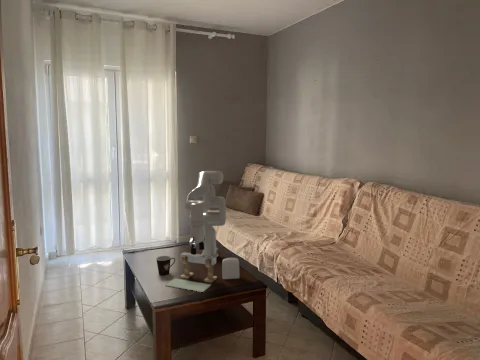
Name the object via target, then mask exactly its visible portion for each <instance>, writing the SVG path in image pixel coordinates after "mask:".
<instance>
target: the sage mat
mask: <svg viewBox="0 0 480 360" xmlns="http://www.w3.org/2000/svg"><path fill="white" fill-rule="evenodd" d="M164 286H165V287H168V286H170V287H169V288H174V287H175V289H179V288H181V289H180V290H185V289H187V290H186V291H190V290H193V291H192V292H196V291H197V293H201V292H203V293H205V292H206V291H207V290H208V289H209V288H211V286H212V283H206V282H204V283H203V282H198V281H192V280H188V279H182V278H173V279H172V280H171V281H169V282H167V283H166V284H165V285H164Z"/></svg>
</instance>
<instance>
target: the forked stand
mask: <svg viewBox="0 0 480 360" xmlns="http://www.w3.org/2000/svg"><path fill="white" fill-rule="evenodd" d="M181 264H183V273H182V274H181V275H179V277H180V278H179V279H185V280H188V279H189V278H190V277H191V278H192V276H194V272H191V270H190V262H186V256H182V261H181ZM204 265H205V268H207V277H205V278H204V279H203V282H204V283H209V284H212V283H214V282H215V281H216V280H217V279H218V276H217V275H214V265H210V260H207V259H206V260H205V264H204Z"/></svg>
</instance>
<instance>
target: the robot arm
mask: <svg viewBox="0 0 480 360" xmlns="http://www.w3.org/2000/svg"><path fill="white" fill-rule="evenodd" d="M197 177H198V179H197V182H196V183H197V184H196V187H195V188H193V189H192V190H191V191H190V192H189V193H188V194H187V196H186V200H185V205H184V208H185V211H186V212H187V213H189V214H190V229H189V242H188V244H189V247H190V253H191V254H193V255H196V254H197V248H196V247H197V245H198V244H199V245H198V248H199V250H201V251H202V252H201V255H209V256H216V259H217V258H218V257H219V253H218V252H217V251H218V250H219V248H218V246H217V232H216V229H215V228H214V227H223V226H225V224H226V220H227V213H226V212H227V210H226V209H227V208H226V207H227V206H226V205H227V203H226V202H227V200H226V199H225V197H224V196H219V195H218V196H216V189H215V187H214V185H213V184H215V185H216V184H217V185H219V184H220V185H221V184H222V183H223V182H224V173H223V172H222V171H221V170H220V171H219V170H204V171H200V172H199V173H198V176H197ZM200 197H202V199H201V200H200V199H197V198H200Z"/></svg>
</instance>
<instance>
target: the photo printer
mask: <svg viewBox="0 0 480 360" xmlns="http://www.w3.org/2000/svg"><path fill="white" fill-rule="evenodd" d="M221 268H222V269H221V274H222V276H221V277H222V279H223V280H234V279H235V280H237V279H240V277H241V276H240V261H239V258H237V257H226V258H224V259H222V263H221Z"/></svg>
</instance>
